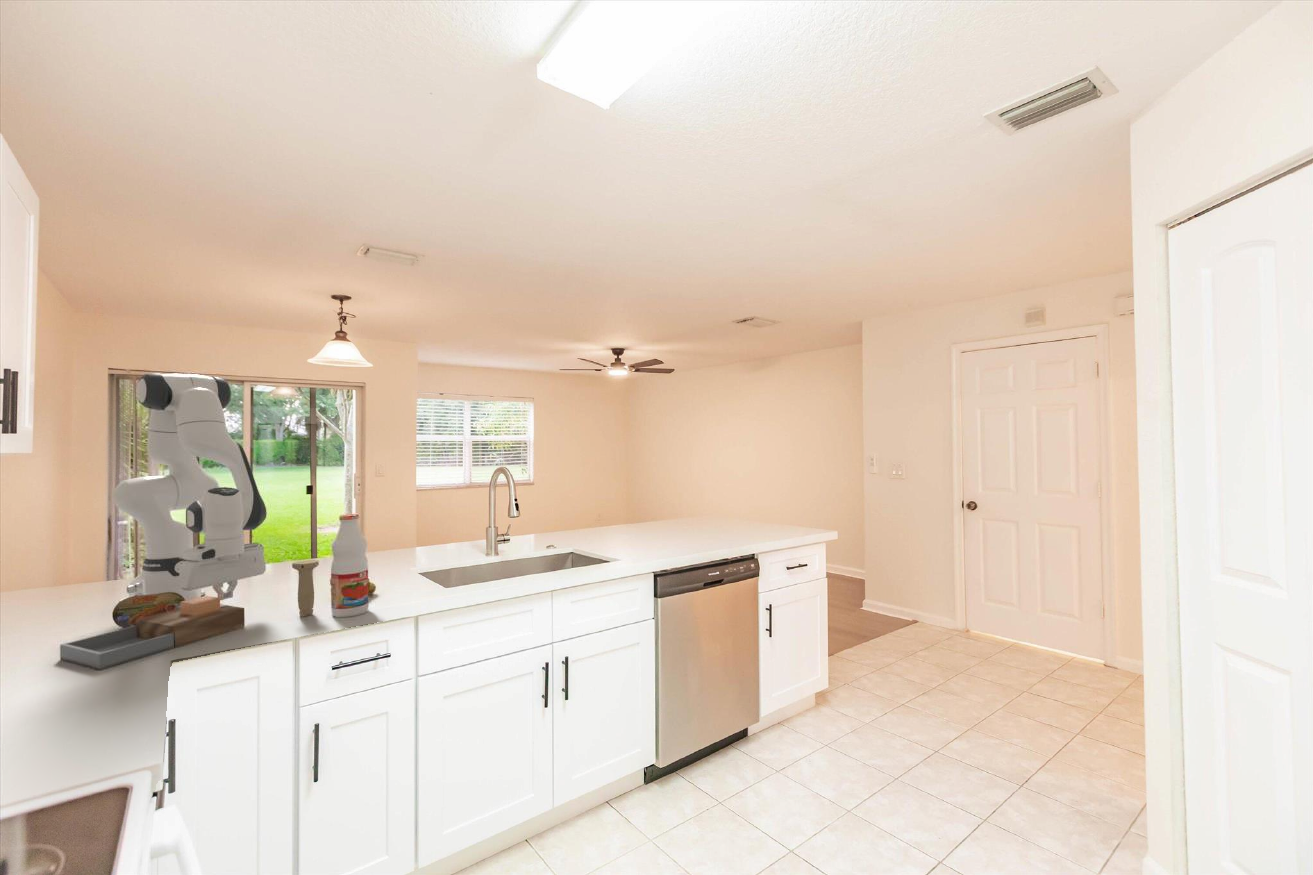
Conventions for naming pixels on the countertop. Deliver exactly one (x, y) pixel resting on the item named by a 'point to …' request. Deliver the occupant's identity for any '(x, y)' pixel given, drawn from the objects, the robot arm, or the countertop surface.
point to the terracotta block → (199, 605)
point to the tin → (144, 607)
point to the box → (113, 648)
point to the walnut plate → (190, 624)
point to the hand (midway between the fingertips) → (225, 598)
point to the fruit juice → (349, 569)
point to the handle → (305, 585)
